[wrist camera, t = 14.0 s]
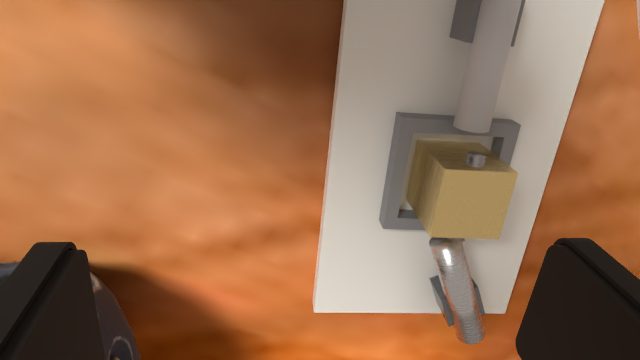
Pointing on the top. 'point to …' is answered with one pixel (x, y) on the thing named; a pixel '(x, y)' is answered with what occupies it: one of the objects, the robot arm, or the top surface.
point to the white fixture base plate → (439, 136)
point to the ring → (102, 319)
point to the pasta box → (639, 11)
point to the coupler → (459, 189)
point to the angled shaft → (457, 290)
